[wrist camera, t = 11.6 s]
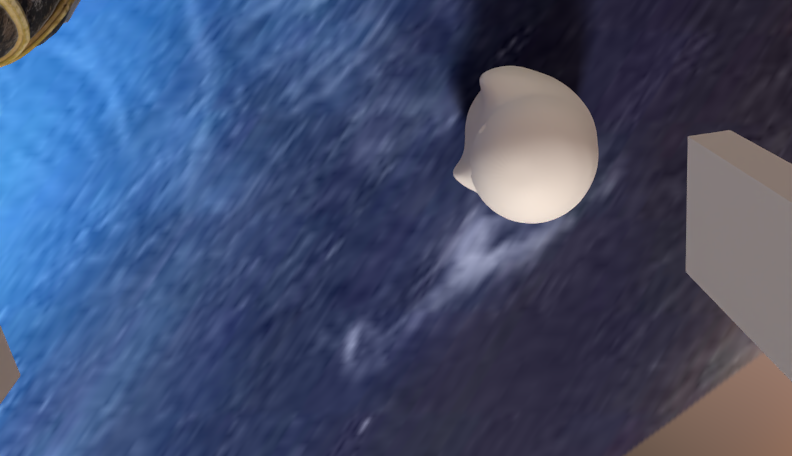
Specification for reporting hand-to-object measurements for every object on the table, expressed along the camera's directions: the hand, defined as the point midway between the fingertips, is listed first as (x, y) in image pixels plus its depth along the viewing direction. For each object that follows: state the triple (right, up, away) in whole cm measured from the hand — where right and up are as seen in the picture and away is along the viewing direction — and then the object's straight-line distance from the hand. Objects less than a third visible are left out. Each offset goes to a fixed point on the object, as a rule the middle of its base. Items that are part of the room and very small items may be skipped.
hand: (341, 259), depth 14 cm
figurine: (+8, +7, +31) cm, 33 cm away
